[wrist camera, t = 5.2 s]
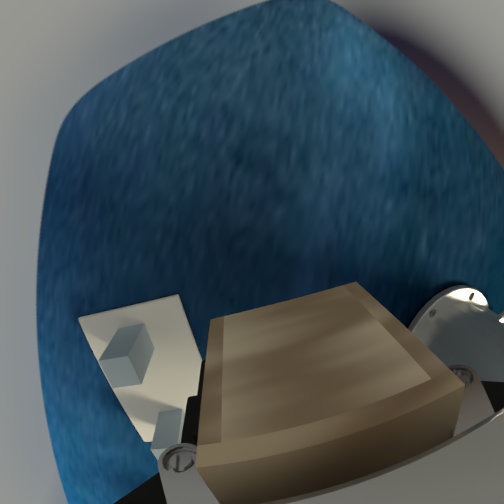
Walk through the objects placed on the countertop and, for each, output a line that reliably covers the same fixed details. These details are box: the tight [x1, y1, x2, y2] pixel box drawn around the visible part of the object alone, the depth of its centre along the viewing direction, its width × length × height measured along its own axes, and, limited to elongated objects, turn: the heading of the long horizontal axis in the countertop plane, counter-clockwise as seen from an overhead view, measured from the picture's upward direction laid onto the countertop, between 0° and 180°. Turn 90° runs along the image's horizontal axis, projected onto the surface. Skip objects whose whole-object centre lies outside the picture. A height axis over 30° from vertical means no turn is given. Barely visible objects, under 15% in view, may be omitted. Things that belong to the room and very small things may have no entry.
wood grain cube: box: [195, 281, 465, 504], centre depth 9 cm, size 5×5×7 cm
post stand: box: [78, 294, 203, 460], centre depth 25 cm, size 10×16×6 cm, turn 14°
